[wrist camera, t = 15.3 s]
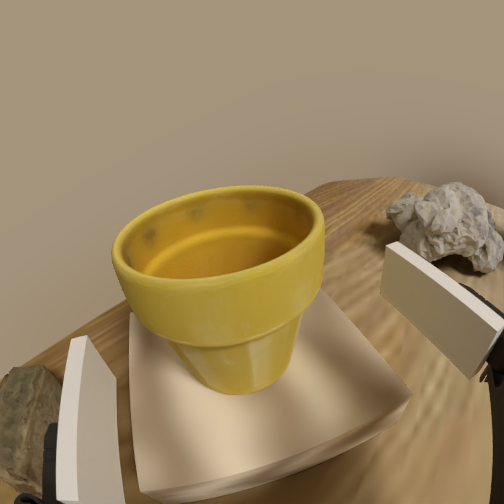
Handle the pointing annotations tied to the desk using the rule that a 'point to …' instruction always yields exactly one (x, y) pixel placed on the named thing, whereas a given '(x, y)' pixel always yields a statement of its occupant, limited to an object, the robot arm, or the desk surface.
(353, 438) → the birch block
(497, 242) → the mineral
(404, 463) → the desk surface
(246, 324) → the plant pot
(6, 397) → the stone block
